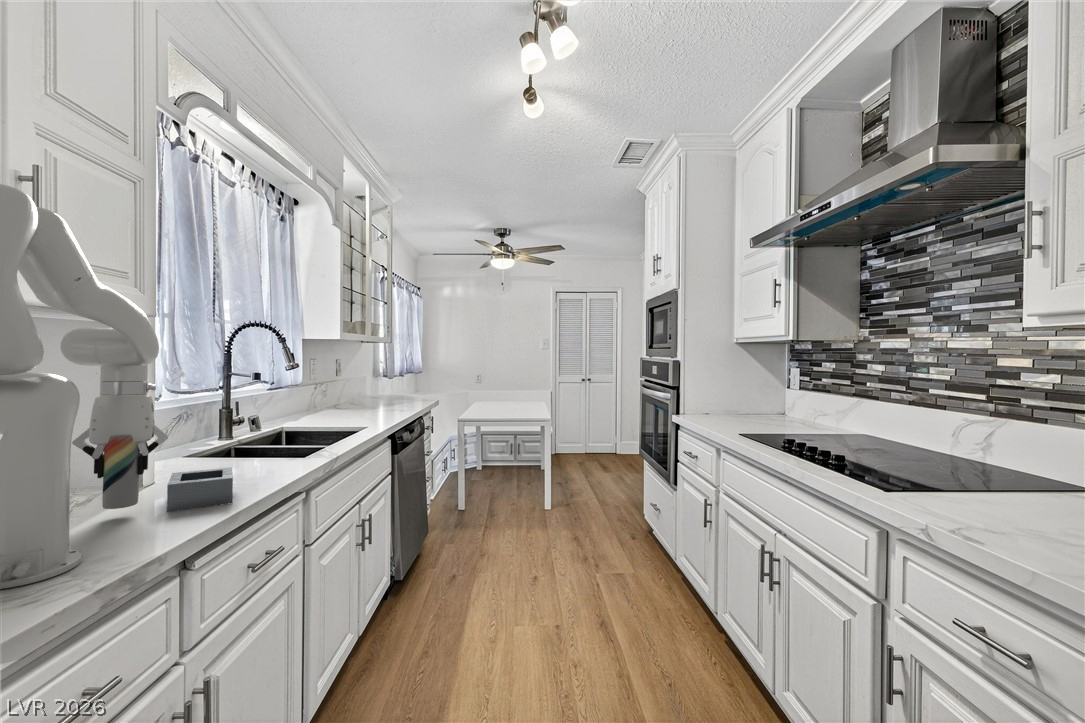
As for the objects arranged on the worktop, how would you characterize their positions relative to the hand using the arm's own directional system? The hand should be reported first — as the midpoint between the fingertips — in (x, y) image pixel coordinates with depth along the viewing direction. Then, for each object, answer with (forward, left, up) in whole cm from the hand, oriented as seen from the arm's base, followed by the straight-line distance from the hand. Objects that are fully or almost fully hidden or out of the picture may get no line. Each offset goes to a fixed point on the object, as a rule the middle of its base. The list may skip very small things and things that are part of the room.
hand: (121, 474), depth 100 cm
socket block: (+5, -14, -9) cm, 17 cm away
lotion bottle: (0, 0, -7) cm, 7 cm away
